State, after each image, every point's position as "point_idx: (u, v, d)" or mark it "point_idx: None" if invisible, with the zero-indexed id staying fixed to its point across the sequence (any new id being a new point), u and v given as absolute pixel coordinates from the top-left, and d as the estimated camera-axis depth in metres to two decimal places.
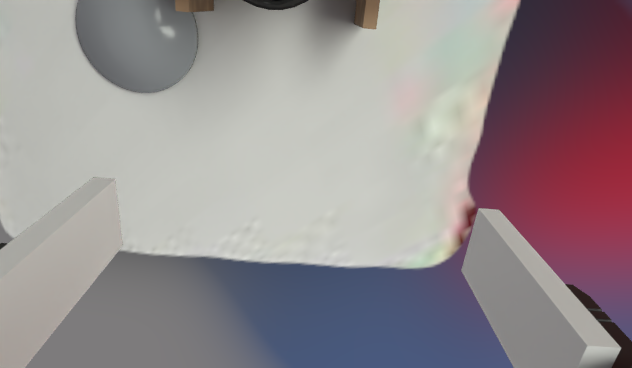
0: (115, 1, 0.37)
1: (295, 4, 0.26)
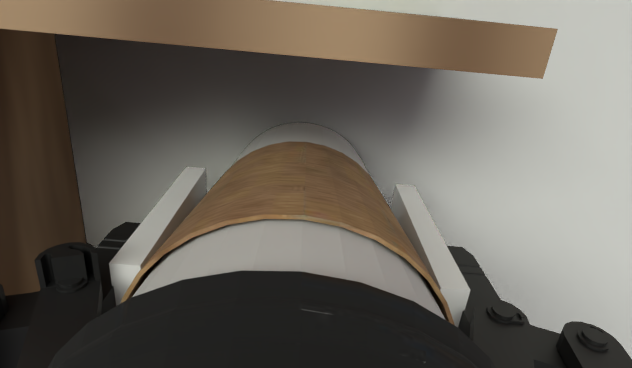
0: None
1: None
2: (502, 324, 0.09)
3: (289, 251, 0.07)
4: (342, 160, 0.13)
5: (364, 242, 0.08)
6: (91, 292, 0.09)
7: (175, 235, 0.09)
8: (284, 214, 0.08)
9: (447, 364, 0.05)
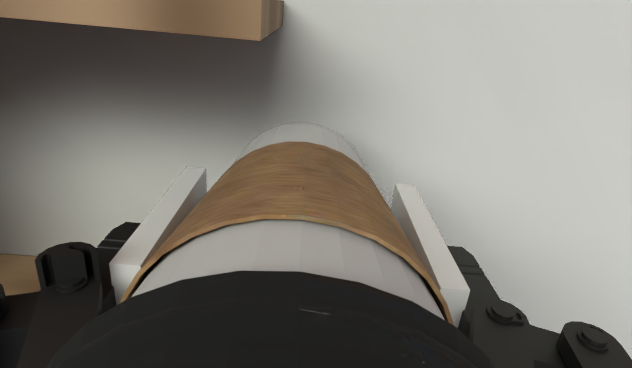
0: None
1: None
2: (502, 324, 0.09)
3: (288, 251, 0.07)
4: (341, 160, 0.13)
5: (363, 242, 0.08)
6: (91, 292, 0.09)
7: (174, 235, 0.09)
8: (283, 214, 0.08)
9: (446, 364, 0.05)
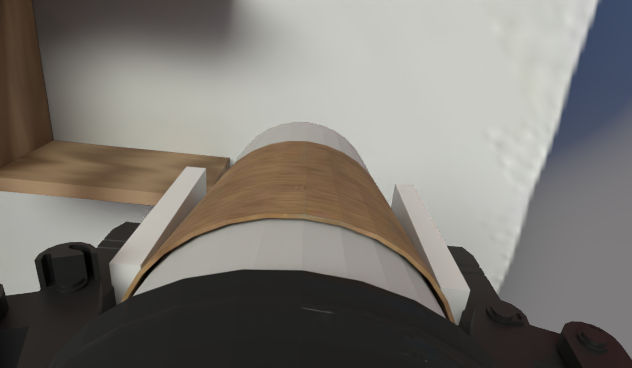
0: None
1: None
2: (502, 324, 0.09)
3: (290, 250, 0.07)
4: (342, 159, 0.13)
5: (365, 241, 0.08)
6: (91, 292, 0.09)
7: (175, 234, 0.09)
8: (285, 213, 0.08)
9: (448, 362, 0.05)
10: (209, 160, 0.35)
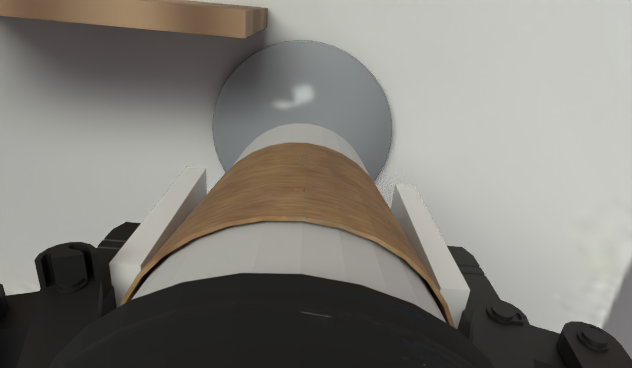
0: None
1: None
2: (502, 324, 0.09)
3: (289, 253, 0.07)
4: (342, 161, 0.13)
5: (364, 244, 0.08)
6: (91, 292, 0.09)
7: (175, 237, 0.09)
8: (284, 216, 0.08)
9: (446, 366, 0.05)
10: None
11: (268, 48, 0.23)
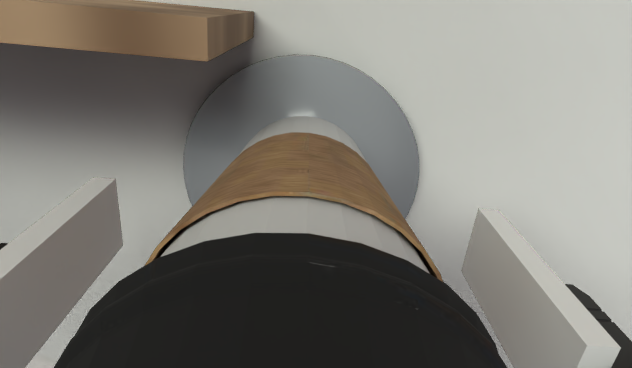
0: None
1: None
2: None
3: (296, 222, 0.08)
4: (342, 149, 0.14)
5: (364, 217, 0.09)
6: None
7: (190, 213, 0.09)
8: (290, 191, 0.09)
9: (436, 312, 0.06)
10: (211, 8, 0.16)
11: (255, 65, 0.17)
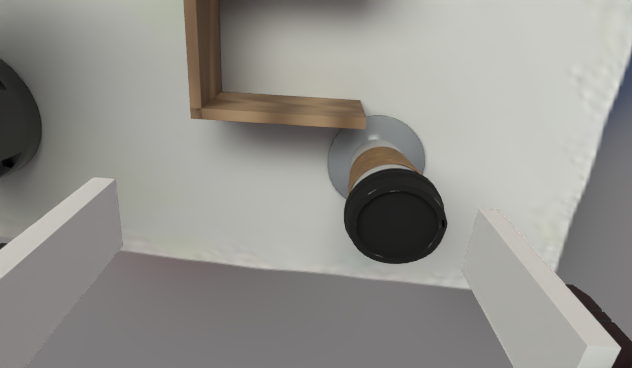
0: None
1: (442, 204, 0.34)
2: None
3: (394, 168, 0.35)
4: (397, 152, 0.41)
5: (408, 168, 0.36)
6: None
7: (363, 169, 0.37)
8: (391, 162, 0.36)
9: (424, 181, 0.34)
10: (346, 101, 0.44)
11: None
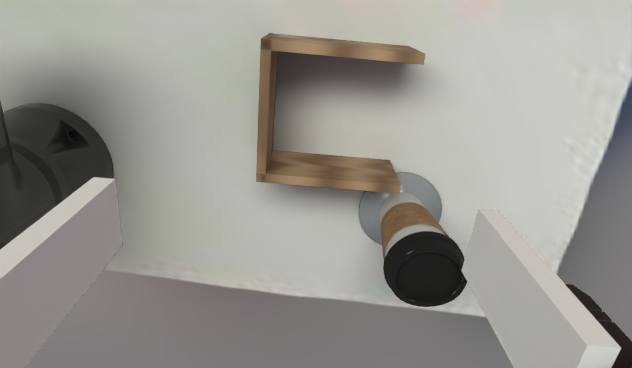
0: (379, 221, 0.56)
1: (463, 260, 0.43)
2: None
3: (425, 229, 0.44)
4: (423, 208, 0.50)
5: (435, 228, 0.45)
6: None
7: (398, 227, 0.46)
8: (422, 223, 0.45)
9: (450, 242, 0.42)
10: (379, 162, 0.52)
11: None
